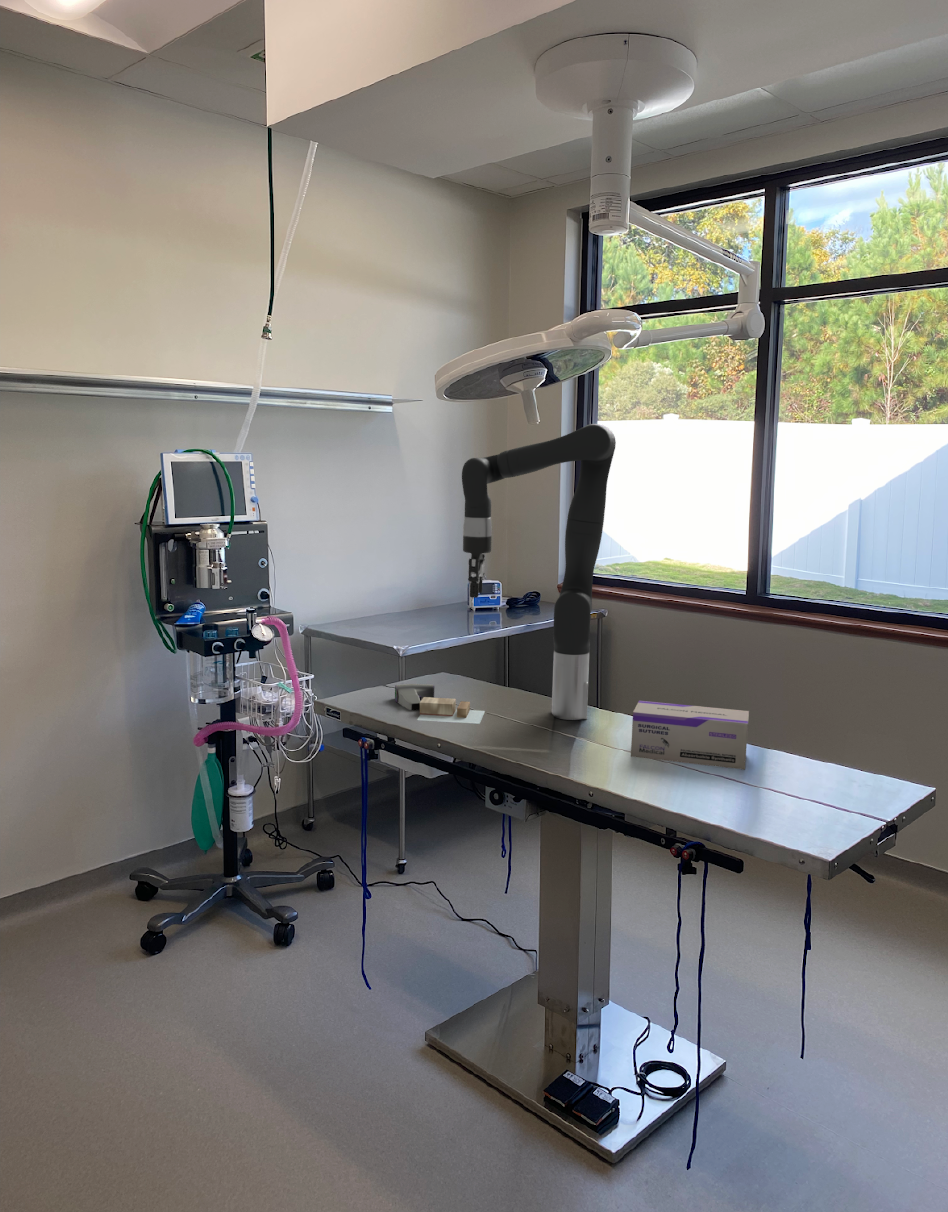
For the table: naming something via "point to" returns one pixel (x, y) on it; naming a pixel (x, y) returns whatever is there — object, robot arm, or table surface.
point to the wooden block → (437, 706)
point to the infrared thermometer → (412, 694)
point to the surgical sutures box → (690, 734)
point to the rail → (463, 709)
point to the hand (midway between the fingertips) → (476, 595)
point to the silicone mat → (455, 717)
